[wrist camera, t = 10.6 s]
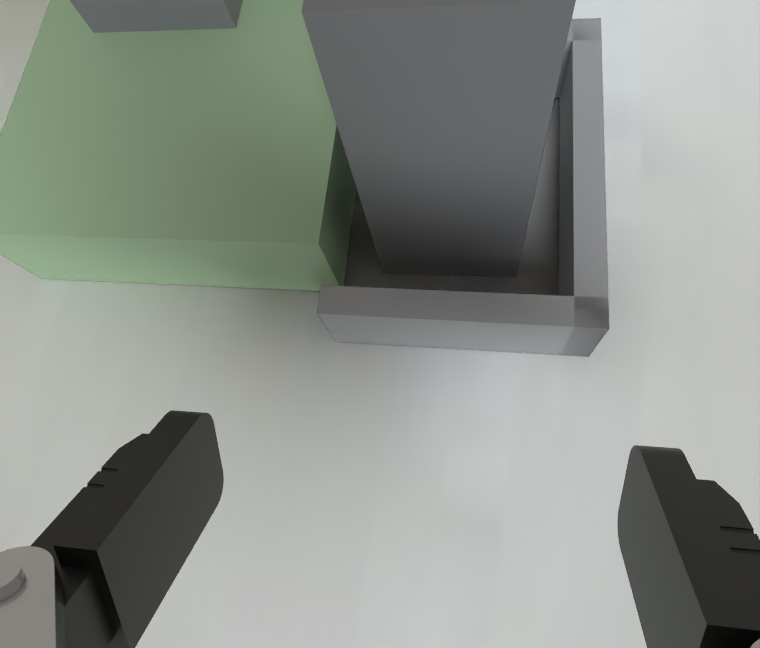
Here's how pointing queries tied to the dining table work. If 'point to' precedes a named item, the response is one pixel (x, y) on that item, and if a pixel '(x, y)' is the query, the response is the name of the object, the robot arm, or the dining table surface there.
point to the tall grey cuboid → (442, 121)
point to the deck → (256, 173)
